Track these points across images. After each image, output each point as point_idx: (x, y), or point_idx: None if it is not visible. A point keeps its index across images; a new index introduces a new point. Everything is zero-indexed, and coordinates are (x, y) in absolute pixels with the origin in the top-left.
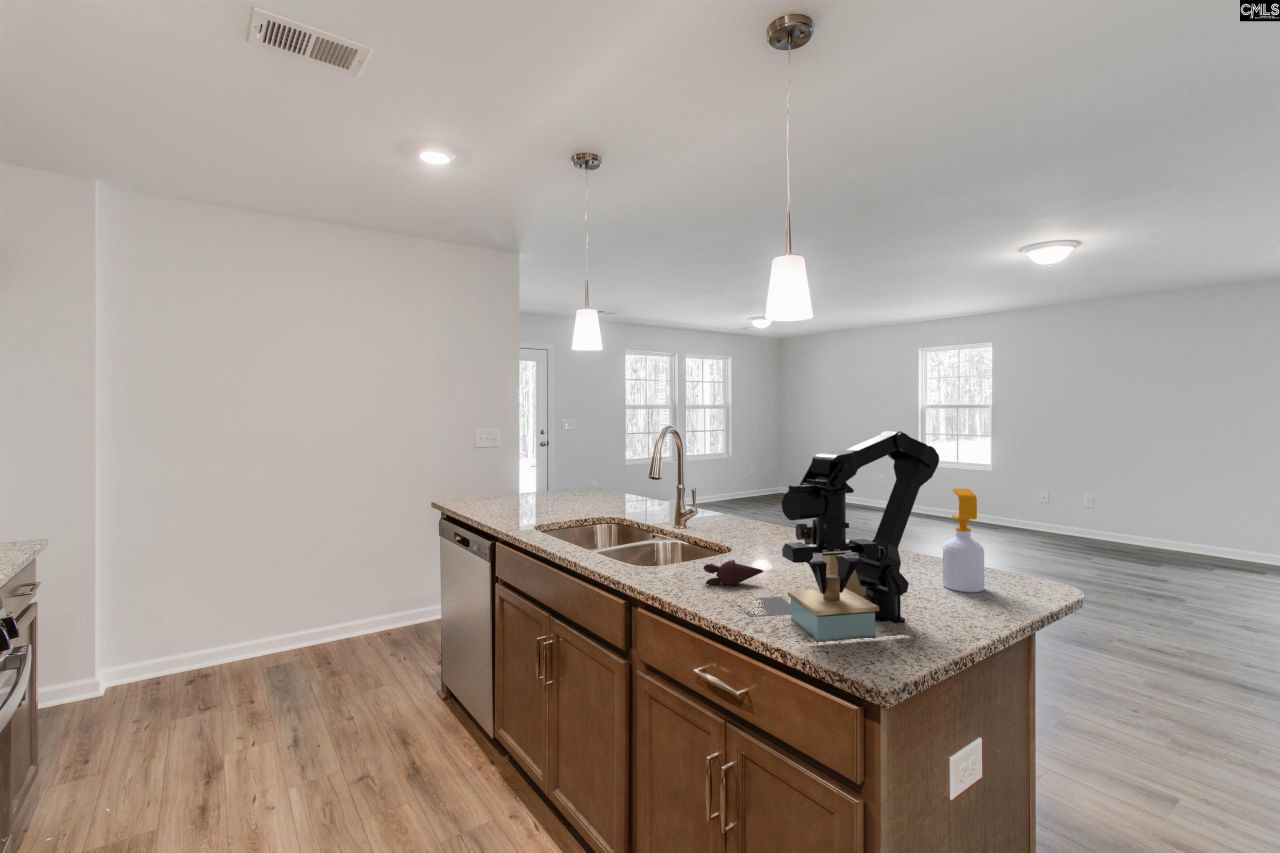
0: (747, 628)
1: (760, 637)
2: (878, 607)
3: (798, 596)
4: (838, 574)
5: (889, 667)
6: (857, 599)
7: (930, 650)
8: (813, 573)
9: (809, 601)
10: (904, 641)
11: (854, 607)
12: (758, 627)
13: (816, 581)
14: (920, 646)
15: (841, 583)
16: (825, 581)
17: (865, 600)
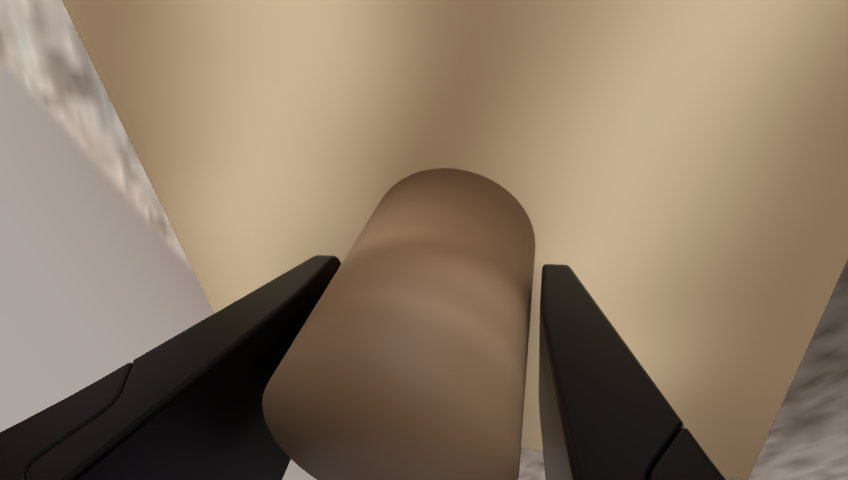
0: (5, 21)
1: (98, 161)
2: (738, 474)
3: (145, 107)
4: (562, 444)
5: (523, 474)
6: (714, 315)
7: (826, 446)
8: (79, 396)
9: (238, 254)
10: (807, 353)
11: (536, 436)
12: (58, 12)
13: (207, 323)
14: (827, 410)
15: (543, 416)
16: (282, 466)
17: (775, 356)
